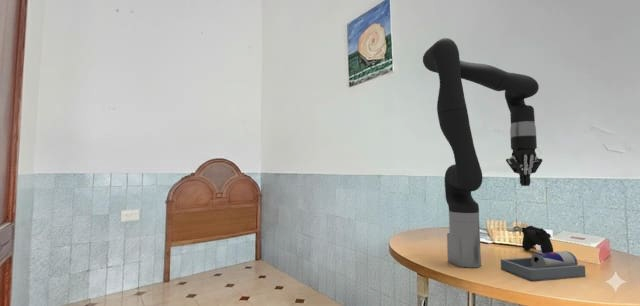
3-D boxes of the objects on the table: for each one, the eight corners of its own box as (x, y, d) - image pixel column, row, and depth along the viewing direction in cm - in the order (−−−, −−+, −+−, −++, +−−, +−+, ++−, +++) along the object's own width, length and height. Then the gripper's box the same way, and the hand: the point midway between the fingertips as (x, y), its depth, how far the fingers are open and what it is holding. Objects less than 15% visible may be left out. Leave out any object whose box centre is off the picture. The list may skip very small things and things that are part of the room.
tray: (531, 281, 86) (531, 270, 86) (501, 269, 96) (500, 259, 96) (585, 276, 89) (584, 265, 89) (550, 265, 100) (549, 256, 100)
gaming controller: (560, 259, 107) (559, 230, 107) (543, 259, 107) (541, 230, 108) (533, 249, 121) (532, 223, 122) (517, 249, 121) (516, 223, 122)
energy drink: (567, 247, 95) (536, 249, 93) (582, 262, 91) (550, 265, 88) (557, 258, 98) (527, 260, 96) (571, 272, 94) (540, 276, 91)
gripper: (515, 134, 102) (517, 186, 101) (549, 135, 105) (551, 186, 103) (498, 136, 110) (500, 185, 108) (530, 137, 112) (532, 185, 111)
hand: (525, 185), depth 106 cm, fingers closed
